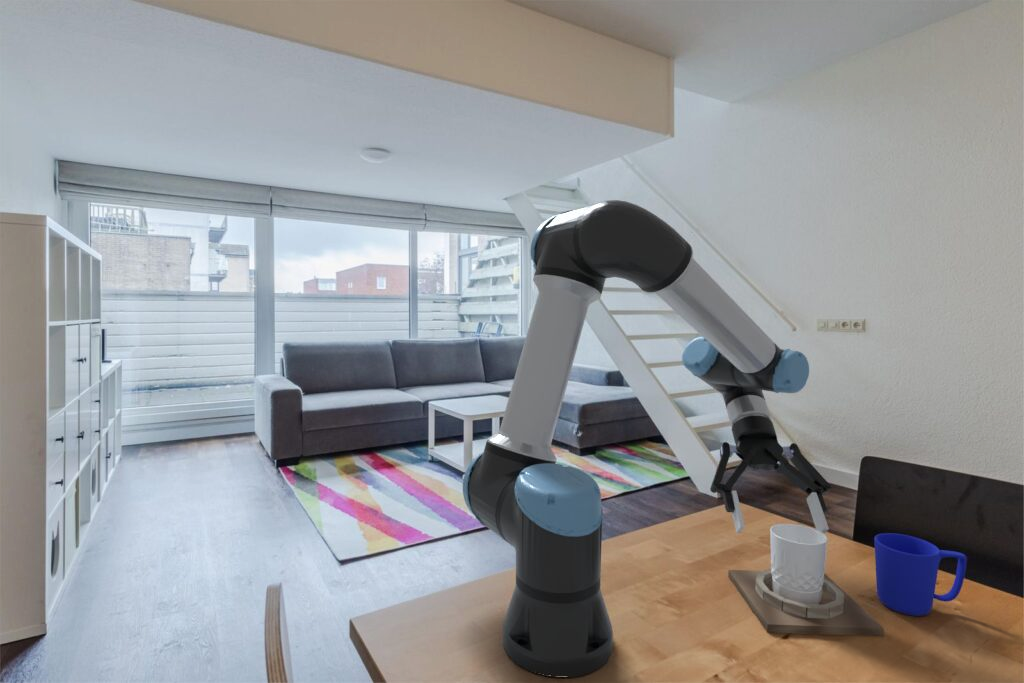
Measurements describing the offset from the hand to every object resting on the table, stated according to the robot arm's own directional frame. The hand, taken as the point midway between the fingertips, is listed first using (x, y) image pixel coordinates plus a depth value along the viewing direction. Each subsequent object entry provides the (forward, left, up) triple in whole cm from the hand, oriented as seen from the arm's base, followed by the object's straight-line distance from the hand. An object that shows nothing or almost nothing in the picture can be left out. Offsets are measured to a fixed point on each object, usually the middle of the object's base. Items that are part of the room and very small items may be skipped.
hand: (781, 531), depth 90 cm
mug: (+18, -7, -9) cm, 21 cm away
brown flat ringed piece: (0, -7, -9) cm, 11 cm away
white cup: (-1, -7, -8) cm, 11 cm away
